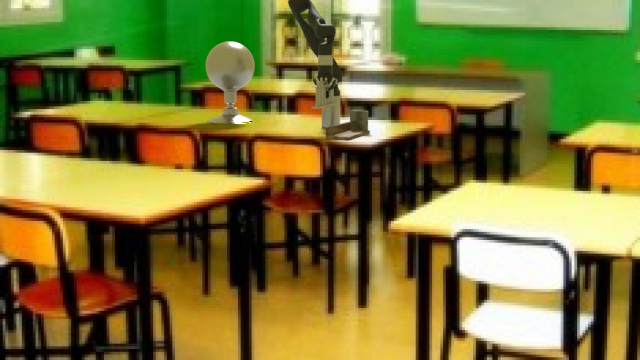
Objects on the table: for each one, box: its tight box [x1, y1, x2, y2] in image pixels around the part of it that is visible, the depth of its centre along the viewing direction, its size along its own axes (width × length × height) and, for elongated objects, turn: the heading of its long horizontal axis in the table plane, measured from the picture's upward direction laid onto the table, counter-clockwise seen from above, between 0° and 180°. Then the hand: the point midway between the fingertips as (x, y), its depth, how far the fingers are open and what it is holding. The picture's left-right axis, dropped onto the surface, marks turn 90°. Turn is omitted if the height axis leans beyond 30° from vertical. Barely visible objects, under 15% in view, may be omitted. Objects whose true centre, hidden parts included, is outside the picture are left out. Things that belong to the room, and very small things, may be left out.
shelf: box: [325, 109, 371, 141], centre depth 512 cm, size 12×31×12 cm, turn 157°
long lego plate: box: [310, 80, 339, 110], centre depth 513 cm, size 25×4×13 cm, turn 158°
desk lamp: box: [205, 41, 256, 124], centre depth 574 cm, size 28×28×45 cm
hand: (325, 98), depth 514 cm, fingers closed on long lego plate
